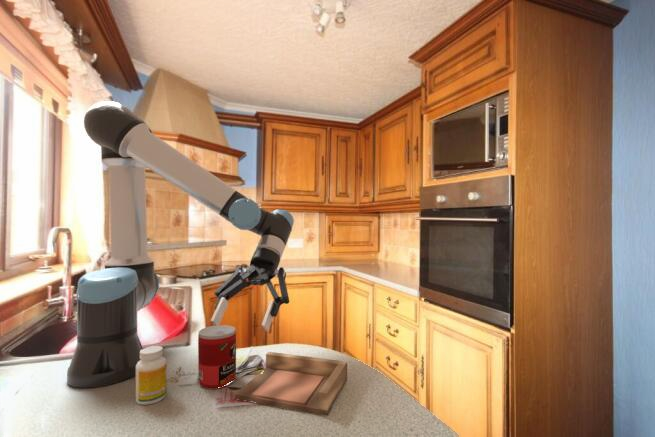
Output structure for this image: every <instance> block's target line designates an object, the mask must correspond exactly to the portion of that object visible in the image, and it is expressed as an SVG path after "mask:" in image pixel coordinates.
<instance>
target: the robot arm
mask: <svg viewBox="0 0 655 437" xmlns="http://www.w3.org/2000/svg"><path fill="white" fill-rule="evenodd" d="M83 124H84V126H83V127H84V130H85V132H86V134H87V136H88V137H89V139H90V140H92V141H93V142H94V143H95V144H97V145H98V146H100V147H101V148H100V149H101V151H100V152H101V153H100V154H101V155H100V156H101V163H102V164H103V165H104V166H105V167H107V168H108V185H109V186H108V188H109V191H108V192H109V193H108V194H109V218H110V219H109V222H110V224H109V225H110V229H109V230H110V258H109V259H108V260H107V261H106V262H105V263H104V268H103V269H99V270H93V271H89V272H87V273H86V274H83V275H82V276H81V277H80V278H79V279H78V281H77V289H76V292H75V294H76V295H75V297H76V333H77V335H76V337H77V338H76V340H77V341H76V342H77V343H76V346H75V350H74V352H73V355H72V358H71V361H70V364H69V367H68V369H67V372H66V383H67V384H68V385H69V386H71V387H72V388H73V387H74V388H82V389H83V388H84V389H85V388H98V387H102V386H107V385H112V384H115V383H119V382H122V381H125V380H128V379H130V378H132V377H134V376H136V364H137V363H138V362H139V361H140V360H141V359H140V351H141V350H142V349H144V348H143V345H142V343H141V340H140V337H139V335H138V311H140V310H141V309H144V308H145V307H147V306H148V305H149V304H150V303H152V301H153V300H154V299H155V297H156V296H157V294H158V291H159V289H160V279H159V276H158V274H157V273H156V272H155V260H154V259H153V258H152V257H151V256H149V253H148V228H147V227H148V226H147V225H148V224H147V223H148V221H147V197H146V196H147V191H146V188H147V187H146V185H147V184H146V183H147V182H146V170H147V169H149V170H150V171H152V172H153V173H155V174H156V175H158V176H159V177H161V178H162V179H164V180H166V181H167V182H168V183H170V184H172V185H173V186H175V188H178V189H180V191H182V192H183V193H184V194H185V193H186V194H187V195H188V196H189V197H192V199H195V200H196V201H198V202H199V203H201V204H202V205H204V206H205V207H206V208H208V209H210V210H212V211H213V212H215V213H216V214H218V215H219V216H220V217H222V218H223V219H224V220H226V221H227V222H229V223H230V224H232V226H233V227H235V228H237V229H239V230H243V231H249V232H250V233H251V232H252V233H253V234H256V235H258V236H261V237H260V239H259V240H258V243H257V245H256V247H255V250H254V252H253V254H252V256H251V259H250V261H249V262H250V263H249V266H248V267H247V268H245V267H242V266H241V265H238V267H236V268H235V271H234V272H233V273H232V274H230V276H229V277H228V278H227V279H226V280H225V281H224V282H223V283H222V284H221V285H220V286H219V287H218V288H217V289H216V290H215V291H214V292H213V293H214V296H215V297H216V298H217V301H216V304H215V305H214V313H213V315H211V316H212V317H211V318H210V322H211V323H212V324H213V326H216V325H221V321H222V319H223V317H224V315H225V312H226V310H227V308H228V305H229V300H230V299H232V298H234V297H235V296H236V295H237V294H239V292H242V290H244V289H246V288H249V287H251V286H264V285H266V286H267V288H268V290H269V293H270V294H271V297H272V298H273V299H270V300H269V303H268V306H267V309H266V311H265V315H264V318H263V319H262V322H261V327H262V328H263V330H264V331H265V332H269V331H270V327H271V325H272V322H273V319H274V317H275V318H276V317H277V316H278V314H279V312H280V311H279V310H280V308H281V306H282V305H284V304H286V305H287V304H290V297H289V292H288V289H287V288H288V287H287V282H286V277H287V272H286V271H285V269H284V267H282V266H281V267H279V265H280V263H281V259H282V257H283V254H284V252H285V249H286V246H287V243H288V241H289V238H290V236H291V233H292V231H293V226H294V222H295V219H294V216H293V215H292V214H291V213H290V212H289V211H288V210H285V209H275V210H273V211H272V212H271V211H267V210H265V209H263V208H262V207H260V206H259V204H258V203H257V202H255V200H253V199H251V198H248V197H247V196H246V195H244V194H242V193H241V192H239V191H238V190H236V189H235V188H233V187H232V186H230V185H229V184H227V183H226V182H225V181H223V180H222V179H220V178H218V177H217V176H216V175H214V174H213V173H211V172H210V171H209V170H207V169H205V168H204V167H203V166H201V165H200V164H198V163H197V162H195V161H194V160H192V159H191V158H189V157H188V156H186V155H185V154H183V153H182V152H181V151H179V150H178V149H176V148H175V147H173V146H171V145H170V144H168V142H165V141H164V140H162V139H161V138H160V137H158V136H157V135H155V134H154V133H153V131H152V129H151V127H150V126H149V125H148V124H147V123H146V122H145V121H144V120H142V119H140V117H138V116H137V115H136V114H135V112H133V111H132V110H131V109H130V108H129V107H126V106H125V105H123V104H121V103H120V102H117V101H116V102H115V101H100V102H97V103H95V104H93V105H91V106H90V107H89V108H88V110H87V111H86V112H85V115H84V119H83ZM274 277H277V280H278V284H279V289H280V295H281V296H279V295H278V292H277V291H276V289H275V287H274V285H273V283H272V280H273V279H274ZM247 279H248V281H247Z"/></svg>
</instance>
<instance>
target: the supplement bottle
mask: <svg viewBox="0 0 655 437" xmlns="http://www.w3.org/2000/svg"><path fill="white" fill-rule="evenodd" d="M163 354H164V349H163V346H161V345H151V346H148V347H144V348H143V349H142V350H141V351H140V359H141V360H140V361H139V362H138V363H137V364H136V375H135V389H134V390H135V392H134V393H135V403H137V405H142V406H144V405H148V406H149V405H153V404H156V403H158V402H160V401H162V400H164V398H165V397H166V395H167V359H166V357H164V356H163Z"/></svg>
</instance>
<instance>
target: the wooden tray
mask: <svg viewBox="0 0 655 437" xmlns="http://www.w3.org/2000/svg"><path fill="white" fill-rule="evenodd" d="M263 369H264V372H263V374H259V373H257V374H256V375H255V376H254V377H253V378H252V379H250V380H249V381H248V382H247V383H246V384H245V385H243V387H241V388H240V389H239V390H238V391H236V392H235V393H234V400H235V399H239V400H238V401H241V400H246V401H253V402H256V403H255V404H257V403H258V405H264V406H269V407H273V408H281V409H286V410H292V411H295V412H301V413H308V414H314V415H318V416H324V417H328V415H329V413H330V412H331V410H332V409H333V407H334V405H335V403H336V401H337V399H338V398H339V396H340V394H341V393H342V391H343V389H344V387H345V385H346V383H347V382H348V361H346V360H345V361H344V360H339V359H338V360H337V359H328V358H321V357H313V356H306V355H297V354H289V353H282V352H274V351H273V352H272V351H268V352H267V353H266V354H265V368H263ZM246 401H245V402H246Z"/></svg>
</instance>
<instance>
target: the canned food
mask: <svg viewBox="0 0 655 437" xmlns="http://www.w3.org/2000/svg"><path fill="white" fill-rule="evenodd" d="M197 335H198V337H197V338H198V339H197V342H198V343H197V347H198V348H197V350H198V352H197V354H198V356H197V359H198V360H197V361H198V362H197V363H198V364H197V365H198V384H199V385H200V387H203V388H204V389H210V390H215V389H216V388H217V389H219V388H218V387H222V386H224V385H226V384H227V383H229V382H231V381H233V380H234V379H236V378H237V377H236V376H237V330H236V327H235V326H232V325H227V324H219V325H216V326H215V325H211V326H207V327H204V328H202V329H200V330H199V331H198V334H197ZM234 381H235V380H234ZM222 388H223V387H222Z"/></svg>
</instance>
